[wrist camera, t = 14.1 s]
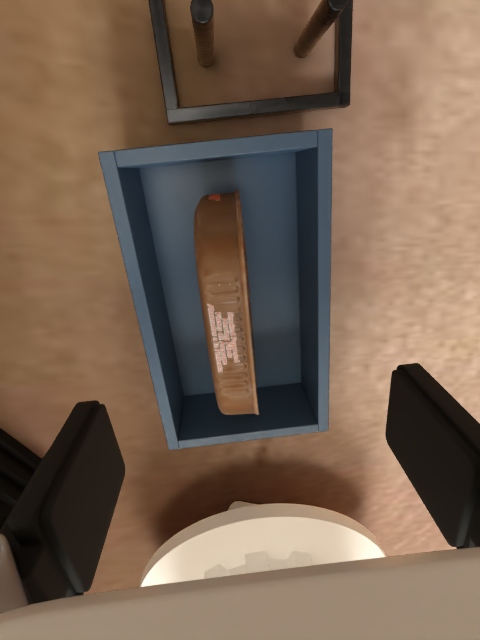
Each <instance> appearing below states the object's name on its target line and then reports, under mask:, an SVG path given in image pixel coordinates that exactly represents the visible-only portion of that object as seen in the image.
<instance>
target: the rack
mask: <svg viewBox="0 0 480 640" xmlns="http://www.w3.org/2000/svg"><path fill="white" fill-rule="evenodd" d="M149 7H150V13H151V19H152V26H153V32H154V38H155V45H156V51H157V57H158V64H159V70H160V76H161V83H162V89H163V95H164V102H165V108H166V114H167V121H168V124H169V125H175V124H185V123H195V122H205V121H215V120H225V119H235V118H245V117H255V116H264V115H274V114H284V113H294V112H304V111H314V110H324V109H334V108H344V107H347V106H349V105H350V77H351V45H352V12H353V0H322V1H321V3H320V4H319V6H318V8H317V9H316V11H315V12H314V14H313V16H312V17H311V19H310V20H309V22H308V24H307V25H306V27H305V29H304V30H303V32H302V33H301V35H300V37H299V38H298V40H297V41H296V43H295V46H294V52H295V55H296V56H297V57H298V58H305V57H306V56H307V55H308V54H309V53H310V51H311V50H312V49H313V47H314V46H315V45H316V44H317V42H318V41H319V40H320V39H321V37H322V36H323V35H324V33H325V32H326V31H327V30H328V28H329V27H330V26H331V25H332V23H333V22H334V21H335V19H336V40H335V92H334V93H324V94H314V95H304V96H294V97H284V98H274V99H264V100H254V101H244V102H234V103H224V104H214V105H204V106H194V107H184V108H179V104H178V97H177V90H176V83H175V76H174V69H173V62H172V55H171V48H170V41H169V34H168V27H167V20H166V13H165V7H164V0H149ZM190 10H191V16H192V23H193V29H194V35H195V42H196V48H197V54H198V60H199V63H200V64H201V65H202V66H203V67H206V68H207V67H210V66H211V65H212V64H213V62H214V9H213V4H212V2H211V0H192V2H191V6H190Z"/></svg>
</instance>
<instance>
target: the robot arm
mask: <svg viewBox="0 0 480 640" xmlns="http://www.w3.org/2000/svg"><path fill="white" fill-rule="evenodd" d="M386 440H387V443H388V445H389V447H390V448H391V450H392V452H393V453H394V455H395V457H396V458H397V460H398V462H399V463H400V465H401V467H402V468H403V470H404V471H405V473H406V475H407V476H408V478H409V480H410V481H411V483H412V485H413V486H414V488H415V490H416V491H417V493H418V495H419V496H420V498H421V500H422V501H423V503H424V504H425V506H426V508H427V509H428V511H429V513H430V514H431V516H432V518H433V519H434V521H435V523H436V524H437V526H438V528H439V529H440V531H441V533H442V534H443V536H444V537H445V539H446V541H447V542H448V544H449V545H450V546H452V547H456V548H457V549H453V550H443V551H433V552H423V553H414V554H406V555H397V556H388V557H380V558H371V559H363V560H354V561H345V562H337V563H328V564H320V565H312V566H304V567H295V568H287V569H279V570H271V571H263V572H254V573H246V574H238V575H230V576H222V577H214V578H206V579H198V580H191V581H183V582H175V583H167V584H159V585H152V586H144V587H136V588H128V589H121V590H114V591H107V592H101V593H94V594H87V595H83V593H84V592H87V591H88V590H89V589H90V587H91V585H92V582H93V579H94V575H95V572H96V569H97V565H98V562H99V559H100V555H101V552H102V549H103V546H104V542H105V539H106V536H107V532H108V529H109V526H110V522H111V519H112V516H113V513H114V509H115V506H116V503H117V499H118V496H119V493H120V489H121V486H122V483H123V479H124V476H125V464H124V461H123V458H122V455H121V452H120V449H119V446H118V443H117V440H116V437H115V434H114V431H113V428H112V425H111V422H110V419H109V416H108V413H107V410H106V407H105V405H104V404H100V403H99V402H98V401H96V400H95V401H86V402H79V403H77V404H76V405H75V407H74V409H73V410H72V412H71V414H70V415H69V417H68V419H67V420H66V422H65V424H64V425H63V427H62V429H61V431H60V432H59V434H58V436H57V437H56V439H55V441H54V442H53V444H52V446H51V447H50V449H49V450H48V451H47V453H46V454H45V456H44V457H43V459H42V461H41V462H40V464H39V466H38V467H37V469H36V471H35V472H34V474H33V476H32V477H31V479H30V481H29V482H28V484H27V486H26V487H25V489H24V491H23V492H22V494H21V496H20V497H19V499H18V501H17V502H16V504H15V506H14V507H13V509H12V511H11V512H10V514H9V516H8V517H7V519H6V521H5V522H4V524H3V526H2V527H1V529H0V640H480V424H479V423H478V422H477V421H476V420H475V419H474V418H473V417H472V416H471V415H470V414H469V413H468V412H467V411H466V410H465V409H464V408H463V407H462V406H461V405H460V404H459V403H458V402H457V401H456V400H455V399H454V398H453V397H452V396H451V395H450V394H449V393H448V392H447V391H446V390H445V389H444V388H443V387H442V386H441V385H440V384H439V383H438V382H437V381H436V380H435V379H434V378H433V377H432V376H431V375H430V374H429V373H428V372H427V371H426V370H425V369H424V368H423V367H422V366H421V365H420V364H418V363H413V364H404V365H399V366H398V367H397V370H394V371H393V372H392V377H391V386H390V396H389V405H388V415H387V424H386Z"/></svg>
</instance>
